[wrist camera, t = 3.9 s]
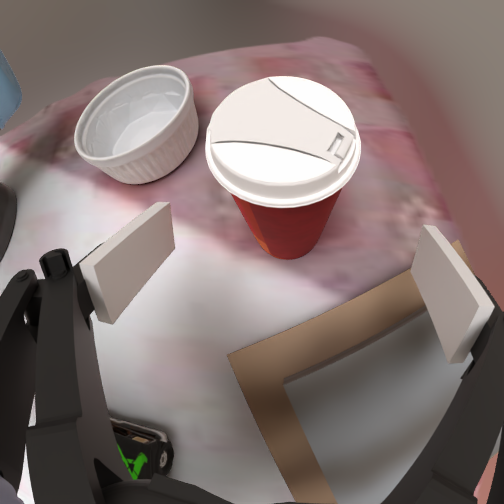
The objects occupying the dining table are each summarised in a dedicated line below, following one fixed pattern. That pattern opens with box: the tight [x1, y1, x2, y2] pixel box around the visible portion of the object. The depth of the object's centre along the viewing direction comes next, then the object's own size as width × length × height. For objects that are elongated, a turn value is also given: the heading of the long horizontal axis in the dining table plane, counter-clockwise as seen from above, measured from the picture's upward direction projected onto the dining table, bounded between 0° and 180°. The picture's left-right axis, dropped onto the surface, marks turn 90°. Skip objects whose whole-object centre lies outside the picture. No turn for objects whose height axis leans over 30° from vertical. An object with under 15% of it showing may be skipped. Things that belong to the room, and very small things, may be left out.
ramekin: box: [74, 65, 199, 184], centre depth 27 cm, size 13×13×7 cm
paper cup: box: [205, 76, 361, 260], centre depth 19 cm, size 8×8×14 cm
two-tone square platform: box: [227, 240, 502, 504], centre depth 17 cm, size 20×20×7 cm
